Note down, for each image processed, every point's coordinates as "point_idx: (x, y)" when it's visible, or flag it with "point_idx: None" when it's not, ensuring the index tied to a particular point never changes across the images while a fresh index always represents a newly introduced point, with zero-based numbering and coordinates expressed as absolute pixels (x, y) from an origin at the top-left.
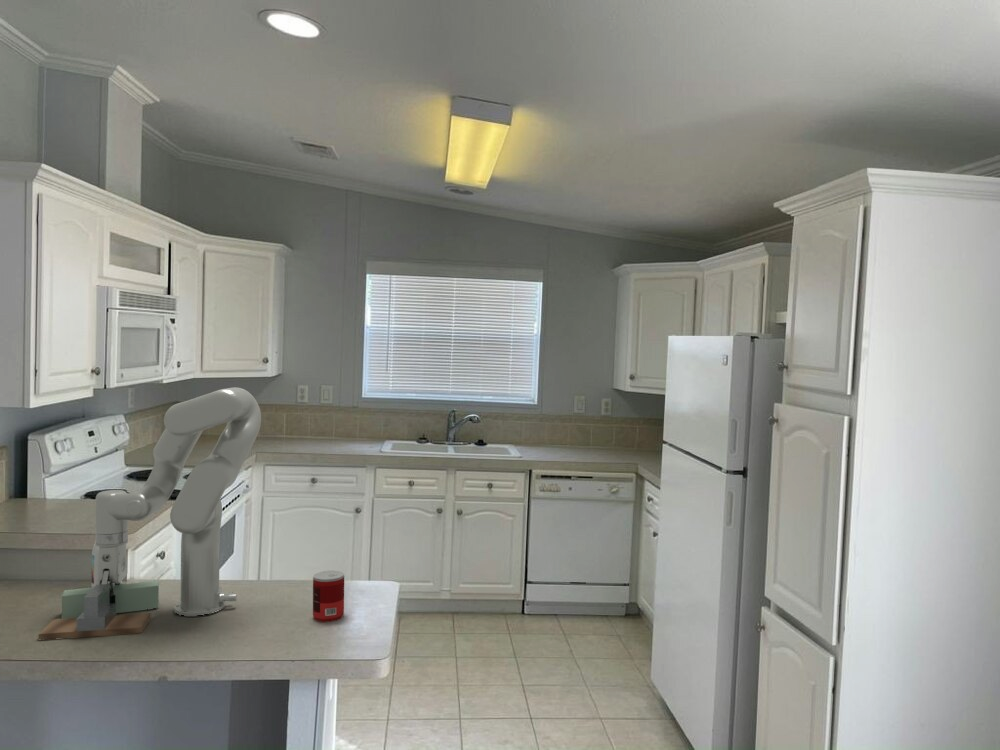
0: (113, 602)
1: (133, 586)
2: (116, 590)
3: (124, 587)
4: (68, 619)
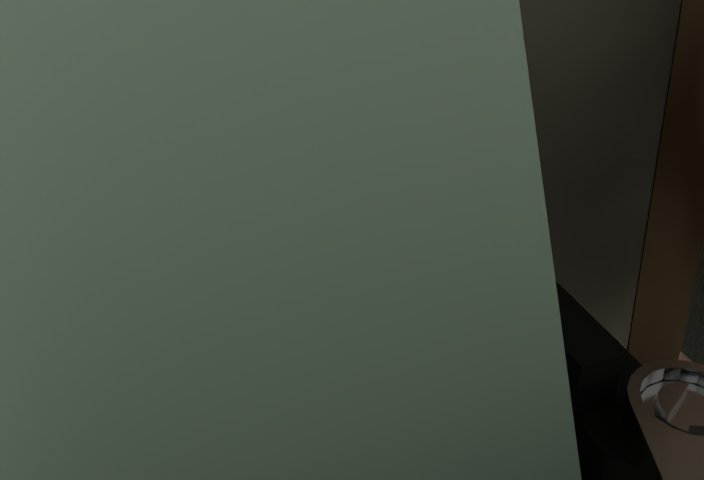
0: None
1: (229, 146)
2: (567, 446)
3: (336, 403)
4: None
